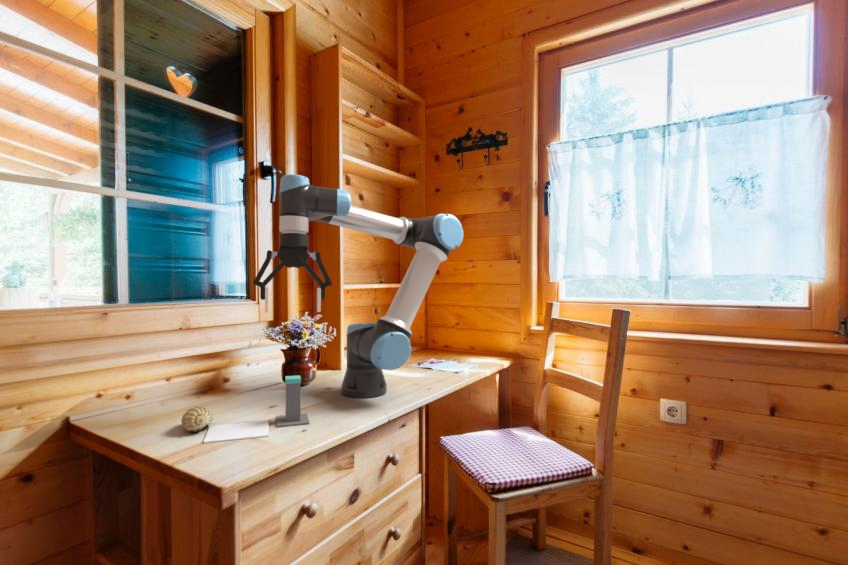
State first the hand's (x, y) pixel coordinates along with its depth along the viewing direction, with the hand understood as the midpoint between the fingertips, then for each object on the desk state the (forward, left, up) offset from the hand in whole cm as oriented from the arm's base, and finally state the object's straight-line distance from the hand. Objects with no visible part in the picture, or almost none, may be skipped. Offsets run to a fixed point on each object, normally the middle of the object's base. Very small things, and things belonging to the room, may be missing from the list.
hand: (293, 311), depth 117 cm
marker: (0, +3, -28) cm, 28 cm away
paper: (+13, +8, -29) cm, 32 cm away
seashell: (+23, +2, -29) cm, 37 cm away
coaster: (0, +3, -29) cm, 29 cm away
